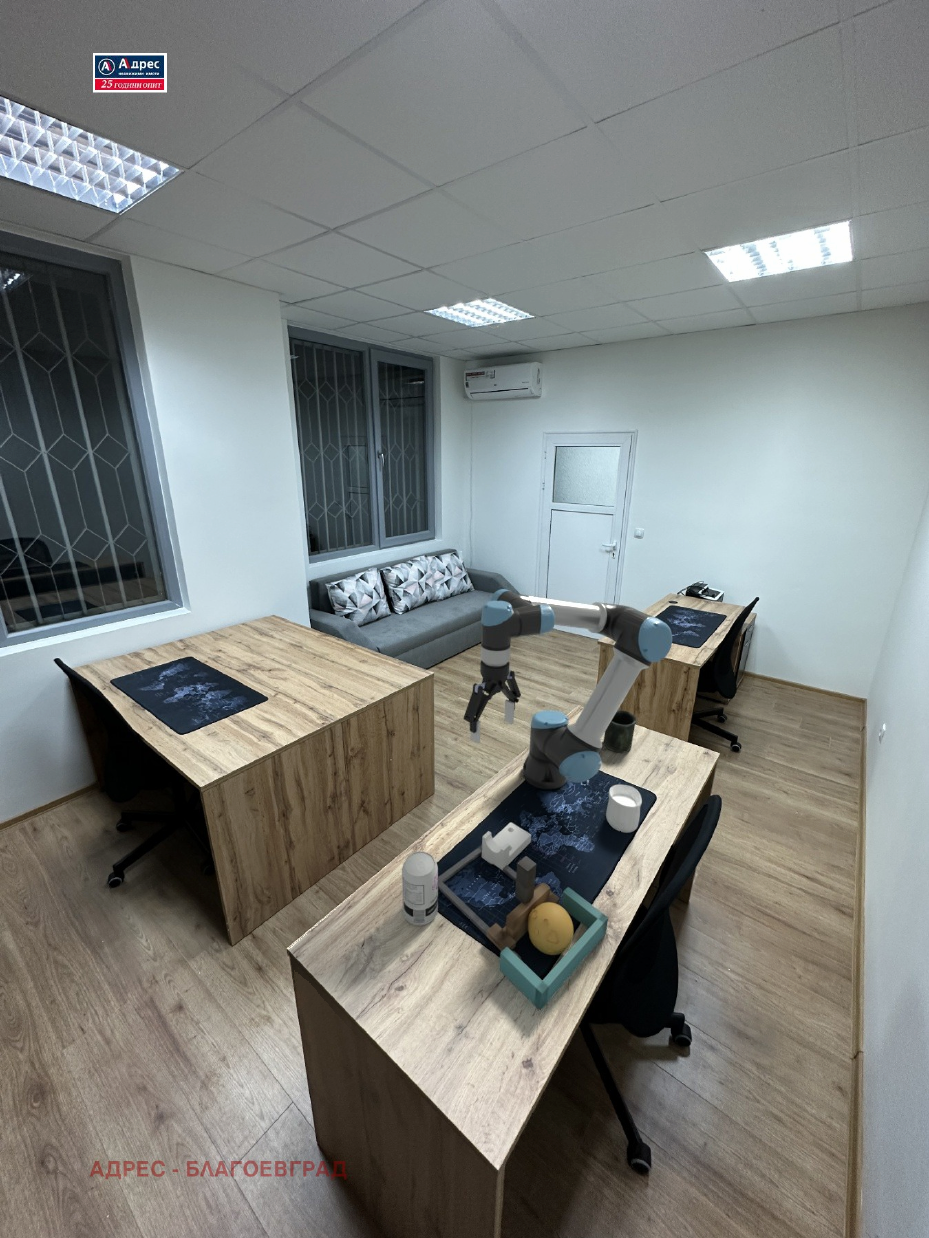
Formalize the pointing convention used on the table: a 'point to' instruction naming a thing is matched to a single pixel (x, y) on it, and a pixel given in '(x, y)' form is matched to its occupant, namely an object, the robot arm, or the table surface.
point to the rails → (457, 900)
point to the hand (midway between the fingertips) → (492, 731)
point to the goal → (545, 989)
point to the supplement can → (420, 888)
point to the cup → (623, 808)
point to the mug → (620, 731)
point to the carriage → (521, 906)
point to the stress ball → (550, 928)
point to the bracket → (504, 845)
